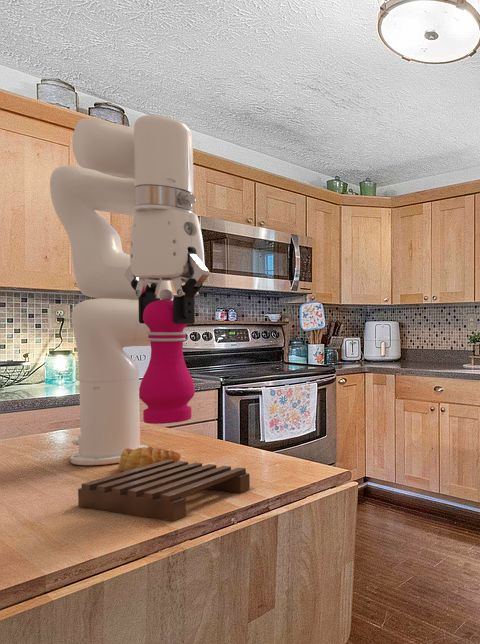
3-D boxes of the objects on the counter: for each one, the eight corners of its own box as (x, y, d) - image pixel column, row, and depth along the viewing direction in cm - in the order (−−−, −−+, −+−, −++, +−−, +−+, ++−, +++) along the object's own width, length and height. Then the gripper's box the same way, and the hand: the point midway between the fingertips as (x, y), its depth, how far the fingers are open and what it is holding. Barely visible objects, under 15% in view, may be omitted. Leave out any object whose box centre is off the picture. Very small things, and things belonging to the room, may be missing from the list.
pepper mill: (168, 425, 72) (167, 287, 71) (127, 423, 73) (125, 287, 72) (205, 416, 79) (204, 291, 78) (167, 414, 80) (165, 291, 80)
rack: (78, 506, 72) (77, 483, 72) (164, 478, 86) (164, 459, 86) (173, 521, 67) (173, 496, 67) (249, 489, 80) (249, 468, 80)
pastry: (182, 460, 97) (182, 441, 97) (177, 469, 91) (177, 449, 91) (125, 465, 93) (124, 445, 93) (115, 475, 87) (115, 454, 87)
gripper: (230, 206, 76) (231, 324, 77) (145, 213, 81) (146, 323, 82) (188, 194, 69) (190, 323, 69) (97, 202, 74) (100, 323, 74)
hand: (166, 322), depth 76 cm, fingers closed on pepper mill, 6 cm apart
